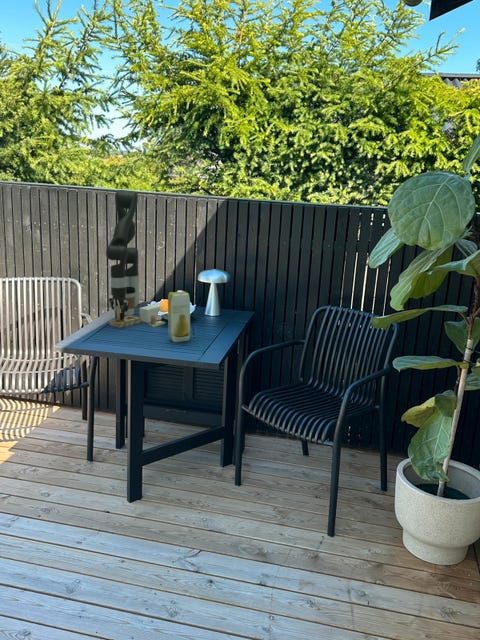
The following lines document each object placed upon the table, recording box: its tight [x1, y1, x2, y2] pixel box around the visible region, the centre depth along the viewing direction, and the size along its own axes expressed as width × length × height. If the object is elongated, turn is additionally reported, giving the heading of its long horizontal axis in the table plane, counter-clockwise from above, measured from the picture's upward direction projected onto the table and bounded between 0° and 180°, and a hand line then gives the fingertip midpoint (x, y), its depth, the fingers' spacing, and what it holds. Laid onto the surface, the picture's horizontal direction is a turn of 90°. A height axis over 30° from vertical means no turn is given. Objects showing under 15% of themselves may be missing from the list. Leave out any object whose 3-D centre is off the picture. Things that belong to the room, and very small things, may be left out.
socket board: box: [108, 315, 142, 329], centre depth 297 cm, size 14×8×2 cm, turn 141°
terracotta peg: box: [116, 305, 123, 322], centre depth 293 cm, size 3×3×8 cm
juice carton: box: [167, 290, 191, 343], centre depth 269 cm, size 9×8×24 cm
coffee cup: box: [124, 287, 135, 316], centre depth 314 cm, size 8×8×15 cm
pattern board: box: [148, 315, 166, 328], centre depth 296 cm, size 4×8×5 cm, turn 141°
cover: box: [139, 304, 163, 324], centre depth 304 cm, size 6×10×7 cm, turn 141°
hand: (119, 318), depth 294 cm, fingers closed on terracotta peg, 3 cm apart
